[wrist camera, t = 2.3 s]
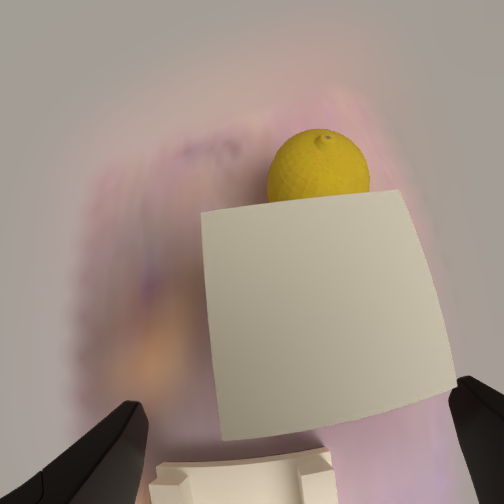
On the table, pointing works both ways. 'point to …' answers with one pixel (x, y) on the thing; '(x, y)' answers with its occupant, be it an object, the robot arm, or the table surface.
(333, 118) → the table surface
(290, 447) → the table surface
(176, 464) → the rack
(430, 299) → the clay bar
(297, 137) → the lemon
